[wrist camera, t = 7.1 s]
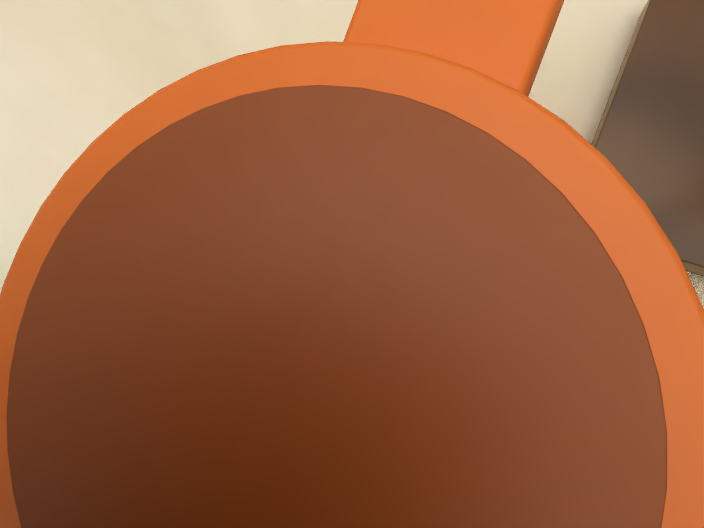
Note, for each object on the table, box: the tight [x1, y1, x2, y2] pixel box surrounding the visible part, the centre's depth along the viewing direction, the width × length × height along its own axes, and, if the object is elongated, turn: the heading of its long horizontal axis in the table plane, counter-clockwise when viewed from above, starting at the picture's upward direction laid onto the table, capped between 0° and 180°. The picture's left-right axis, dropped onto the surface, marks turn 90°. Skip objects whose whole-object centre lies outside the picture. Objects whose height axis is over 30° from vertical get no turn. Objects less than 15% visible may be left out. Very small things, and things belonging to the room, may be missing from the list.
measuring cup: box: [0, 0, 704, 528], centre depth 10 cm, size 13×6×13 cm, turn 159°
